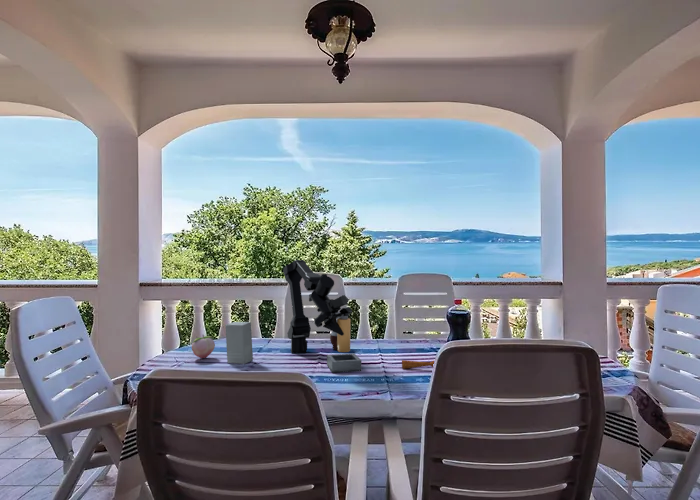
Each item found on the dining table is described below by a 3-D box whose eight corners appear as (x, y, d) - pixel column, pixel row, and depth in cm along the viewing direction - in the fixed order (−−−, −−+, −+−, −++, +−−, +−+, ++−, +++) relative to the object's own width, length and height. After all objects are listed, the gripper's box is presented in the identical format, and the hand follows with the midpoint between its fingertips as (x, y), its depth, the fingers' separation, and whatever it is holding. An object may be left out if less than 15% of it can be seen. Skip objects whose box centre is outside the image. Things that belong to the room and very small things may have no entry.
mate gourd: (339, 351, 185) (339, 317, 185) (325, 349, 190) (325, 316, 190) (349, 348, 191) (349, 315, 191) (335, 346, 196) (335, 314, 196)
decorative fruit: (204, 355, 178) (205, 331, 179) (218, 357, 174) (218, 333, 174) (186, 359, 170) (186, 335, 171) (199, 362, 166) (199, 337, 166)
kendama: (402, 356, 161) (455, 354, 157) (403, 372, 160) (457, 371, 156) (401, 356, 156) (455, 355, 151) (401, 373, 155) (457, 372, 150)
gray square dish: (332, 373, 152) (332, 362, 152) (326, 365, 162) (326, 354, 162) (361, 371, 154) (361, 360, 154) (354, 363, 165) (354, 353, 165)
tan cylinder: (338, 352, 155) (338, 317, 155) (336, 349, 160) (336, 315, 160) (351, 351, 157) (351, 317, 157) (348, 348, 161) (348, 315, 161)
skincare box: (253, 360, 169) (253, 321, 169) (243, 365, 162) (243, 324, 162) (235, 359, 172) (235, 320, 172) (224, 363, 165) (224, 323, 165)
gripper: (321, 290, 153) (346, 323, 147) (348, 287, 169) (371, 316, 163) (304, 310, 157) (327, 343, 151) (332, 305, 173) (354, 334, 167)
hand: (346, 333), depth 158 cm, fingers closed on tan cylinder, 5 cm apart
